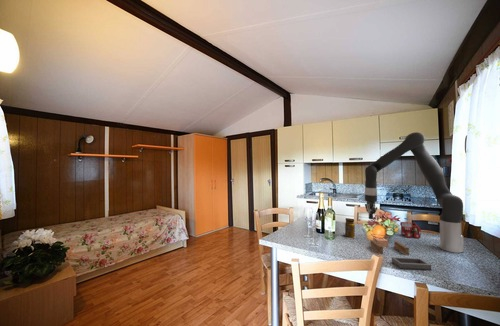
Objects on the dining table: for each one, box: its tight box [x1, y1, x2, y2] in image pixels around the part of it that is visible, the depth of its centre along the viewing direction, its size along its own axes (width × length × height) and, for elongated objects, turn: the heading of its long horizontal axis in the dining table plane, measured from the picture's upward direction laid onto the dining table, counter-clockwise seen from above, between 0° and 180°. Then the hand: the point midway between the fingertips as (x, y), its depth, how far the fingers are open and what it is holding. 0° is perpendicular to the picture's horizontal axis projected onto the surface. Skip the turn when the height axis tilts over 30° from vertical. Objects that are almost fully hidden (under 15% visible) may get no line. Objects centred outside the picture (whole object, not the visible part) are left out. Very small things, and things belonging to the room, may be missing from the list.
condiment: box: [341, 218, 357, 240], centre depth 145 cm, size 7×8×12 cm
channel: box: [369, 239, 410, 256], centre depth 121 cm, size 16×10×4 cm, turn 85°
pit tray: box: [391, 256, 432, 271], centre depth 102 cm, size 14×7×2 cm, turn 85°
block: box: [372, 236, 389, 248], centre depth 130 cm, size 6×6×4 cm
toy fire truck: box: [399, 221, 422, 240], centre depth 145 cm, size 7×12×10 cm, turn 77°
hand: (370, 219), depth 142 cm, fingers closed
